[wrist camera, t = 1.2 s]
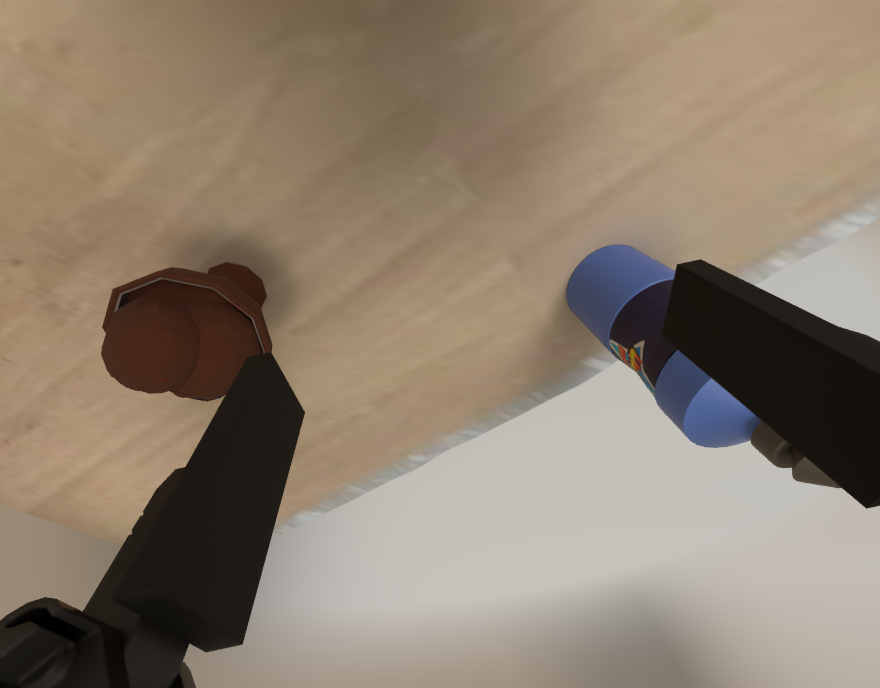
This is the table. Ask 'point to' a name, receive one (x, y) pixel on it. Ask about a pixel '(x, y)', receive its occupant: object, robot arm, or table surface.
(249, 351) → the ice cream bowl
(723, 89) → the table surface
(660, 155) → the table surface
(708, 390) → the water bottle
